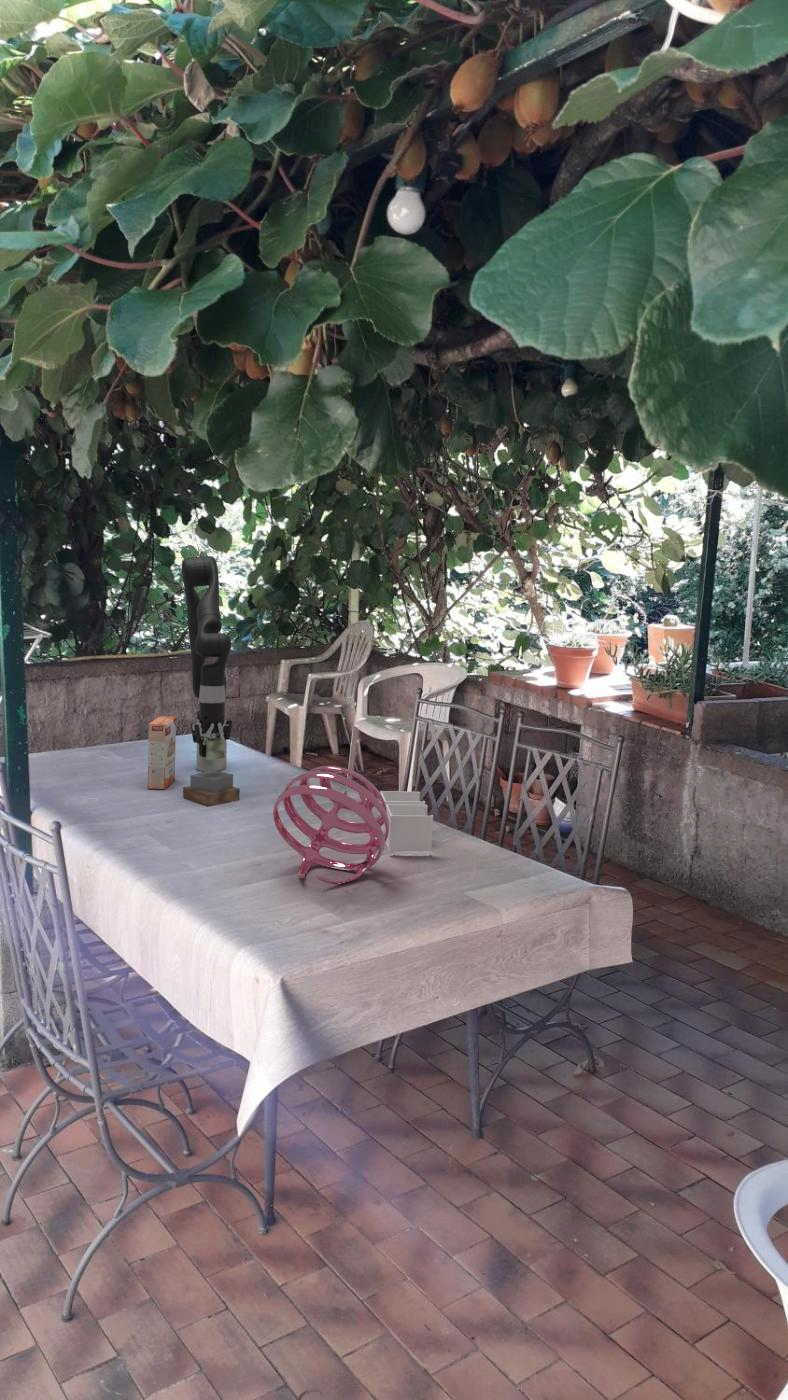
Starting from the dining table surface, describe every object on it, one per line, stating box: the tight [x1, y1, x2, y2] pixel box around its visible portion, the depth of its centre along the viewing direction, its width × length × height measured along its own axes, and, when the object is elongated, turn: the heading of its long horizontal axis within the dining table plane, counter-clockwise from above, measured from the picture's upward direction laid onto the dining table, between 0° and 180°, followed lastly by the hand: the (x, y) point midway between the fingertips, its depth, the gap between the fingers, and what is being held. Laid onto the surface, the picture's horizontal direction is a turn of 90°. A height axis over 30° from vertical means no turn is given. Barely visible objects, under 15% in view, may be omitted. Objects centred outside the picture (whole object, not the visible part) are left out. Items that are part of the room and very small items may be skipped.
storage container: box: [378, 790, 434, 852], centre depth 278 cm, size 25×11×11 cm, turn 7°
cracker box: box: [147, 715, 177, 790], centre depth 328 cm, size 14×6×21 cm, turn 179°
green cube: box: [198, 737, 225, 760], centre depth 312 cm, size 6×6×6 cm
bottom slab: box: [182, 785, 241, 808], centre depth 314 cm, size 12×12×4 cm
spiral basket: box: [272, 765, 389, 885], centre depth 247 cm, size 28×28×27 cm
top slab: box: [189, 770, 234, 793], centre depth 313 cm, size 9×9×4 cm
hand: (211, 755), depth 312 cm, fingers closed on green cube, 5 cm apart
